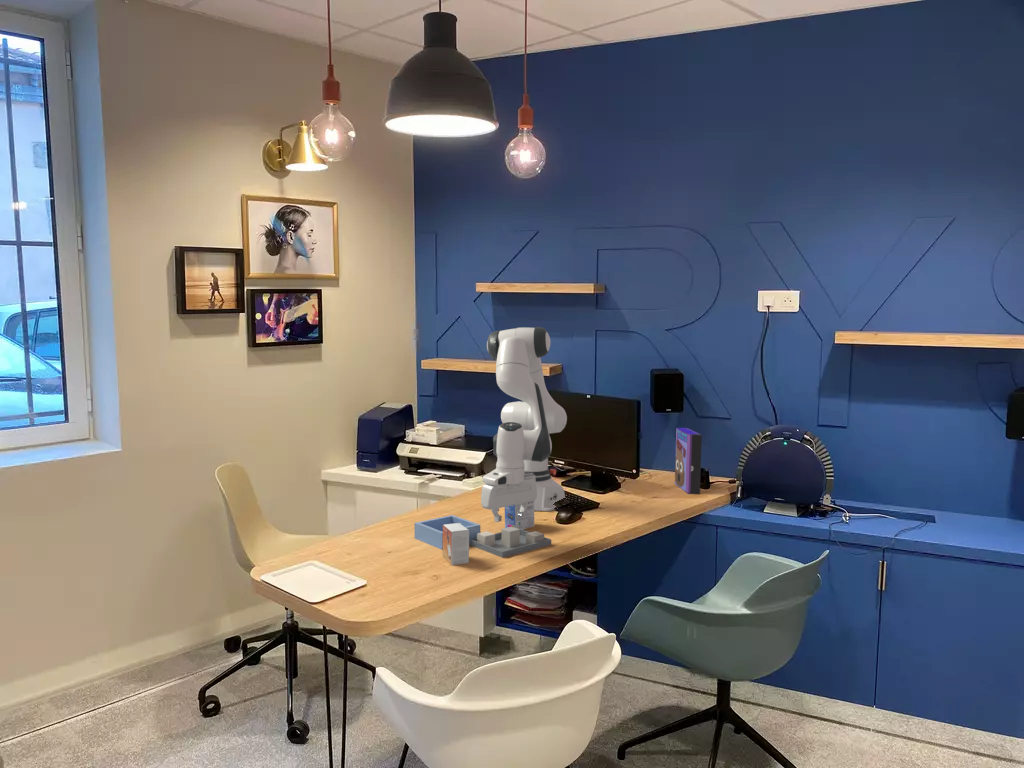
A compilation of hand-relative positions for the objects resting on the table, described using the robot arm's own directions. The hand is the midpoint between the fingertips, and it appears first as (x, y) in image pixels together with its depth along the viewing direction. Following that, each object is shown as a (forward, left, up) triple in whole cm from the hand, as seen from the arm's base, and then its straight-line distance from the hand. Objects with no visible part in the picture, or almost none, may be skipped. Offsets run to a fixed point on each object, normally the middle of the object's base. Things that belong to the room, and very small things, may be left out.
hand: (509, 519), depth 252 cm
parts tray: (0, 0, -9) cm, 9 cm away
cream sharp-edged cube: (+6, -5, -8) cm, 11 cm away
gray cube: (-6, +5, -8) cm, 12 cm away
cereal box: (-106, -13, -9) cm, 108 cm away
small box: (+22, +1, -9) cm, 23 cm away
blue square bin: (+12, -17, -9) cm, 22 cm away
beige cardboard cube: (0, 0, -8) cm, 8 cm away
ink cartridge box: (-15, -13, -9) cm, 22 cm away
